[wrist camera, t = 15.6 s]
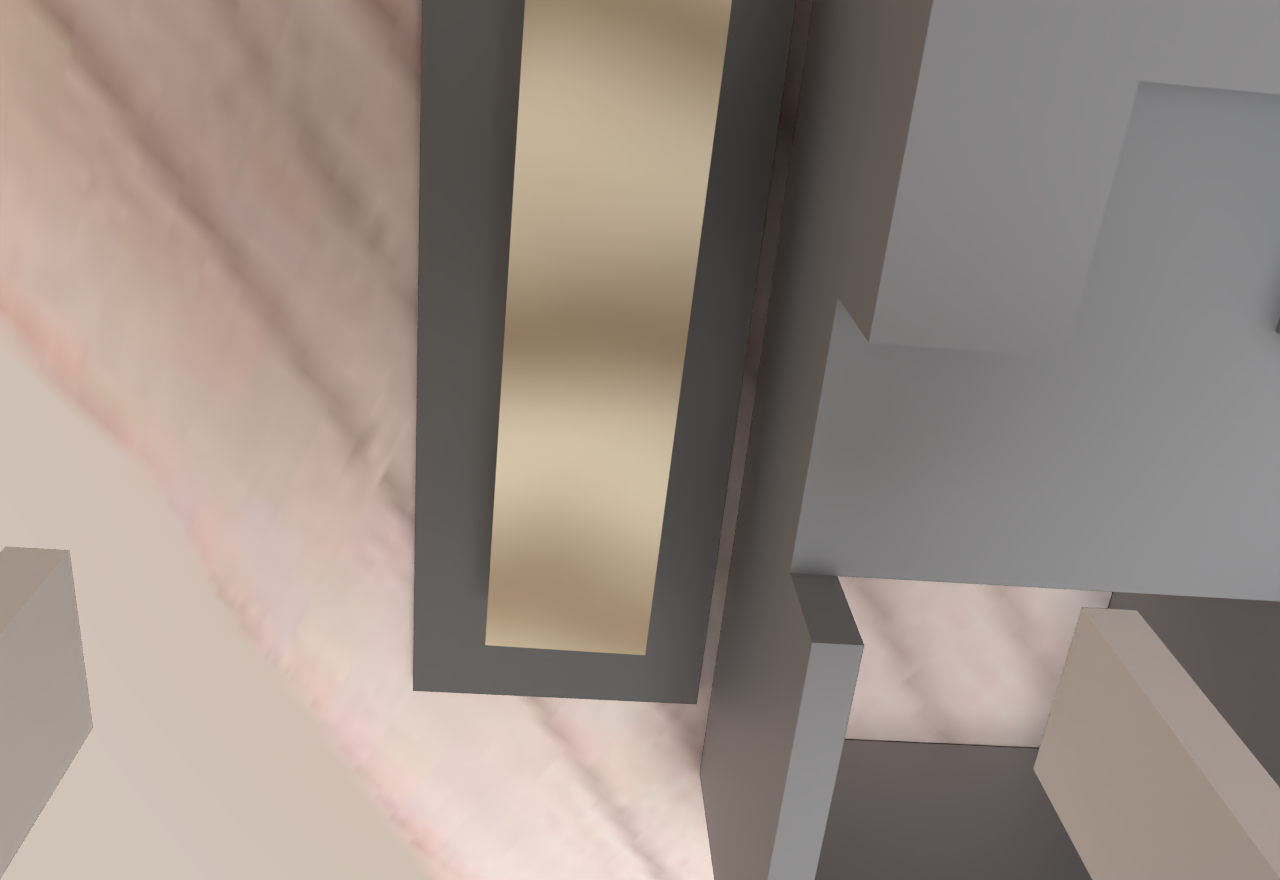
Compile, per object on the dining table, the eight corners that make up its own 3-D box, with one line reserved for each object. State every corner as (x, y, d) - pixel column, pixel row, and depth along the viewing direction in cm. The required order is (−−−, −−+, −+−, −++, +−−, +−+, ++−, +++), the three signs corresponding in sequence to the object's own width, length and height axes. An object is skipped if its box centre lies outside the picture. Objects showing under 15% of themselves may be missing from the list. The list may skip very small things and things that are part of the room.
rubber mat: (427, -99, 24) (423, -100, 23) (799, -61, 24) (804, -60, 24) (415, 677, 32) (413, 690, 31) (694, 690, 33) (696, 704, 32)
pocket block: (822, -58, 24) (942, -48, 16) (1343, -4, 25) (1705, 31, 17) (699, 773, 34) (736, 1042, 26) (1083, 789, 35) (1236, 1054, 27)
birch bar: (540, -165, 23) (535, -174, 21) (734, -140, 23) (751, -147, 21) (492, 591, 30) (485, 644, 28) (640, 600, 31) (645, 655, 28)
